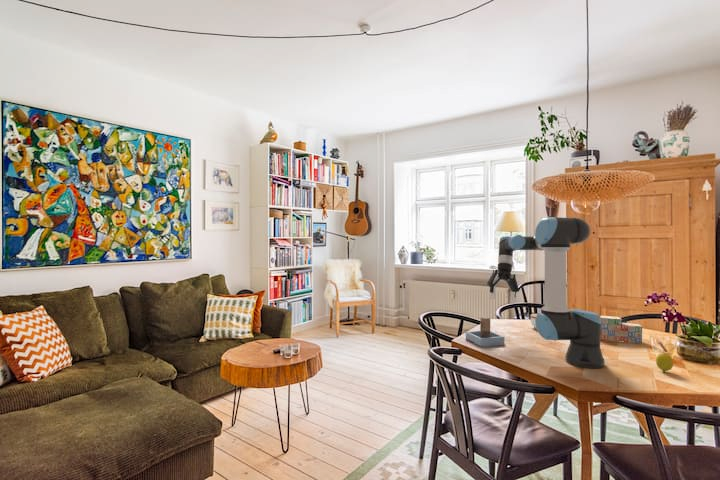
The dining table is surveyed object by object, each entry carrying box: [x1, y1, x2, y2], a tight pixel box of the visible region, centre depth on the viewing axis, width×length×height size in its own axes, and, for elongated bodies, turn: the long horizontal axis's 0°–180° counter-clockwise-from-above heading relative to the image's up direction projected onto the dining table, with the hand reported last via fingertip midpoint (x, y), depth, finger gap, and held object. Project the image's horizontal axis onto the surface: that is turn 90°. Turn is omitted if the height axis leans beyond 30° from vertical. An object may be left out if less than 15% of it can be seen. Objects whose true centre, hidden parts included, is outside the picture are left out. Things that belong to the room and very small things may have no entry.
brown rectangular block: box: [479, 316, 491, 338], centre depth 202 cm, size 5×5×12 cm
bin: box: [465, 330, 505, 347], centre depth 202 cm, size 14×14×4 cm
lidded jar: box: [529, 313, 538, 330], centre depth 231 cm, size 11×11×9 cm
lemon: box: [655, 352, 674, 372], centre depth 160 cm, size 6×6×8 cm
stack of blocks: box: [599, 315, 643, 344], centre depth 206 cm, size 21×6×12 cm, turn 67°
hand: (502, 301), depth 210 cm, fingers open, 13 cm apart
